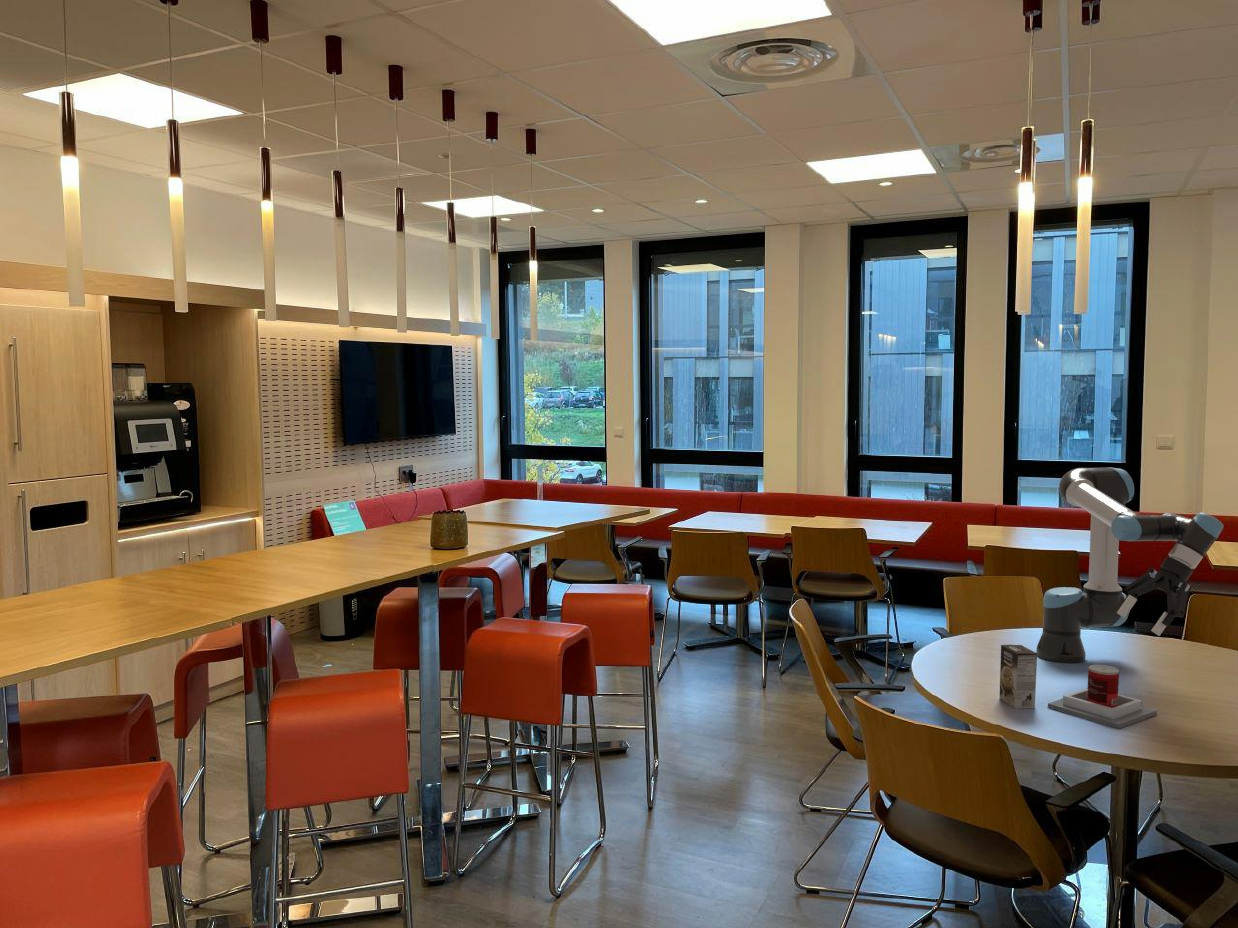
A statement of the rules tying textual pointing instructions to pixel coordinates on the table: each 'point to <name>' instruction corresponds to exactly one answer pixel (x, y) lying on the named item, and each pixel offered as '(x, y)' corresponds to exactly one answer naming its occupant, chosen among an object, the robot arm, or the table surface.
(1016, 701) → the coffee box
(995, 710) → the table surface
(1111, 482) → the robot arm
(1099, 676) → the canned food
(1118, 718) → the end holder
